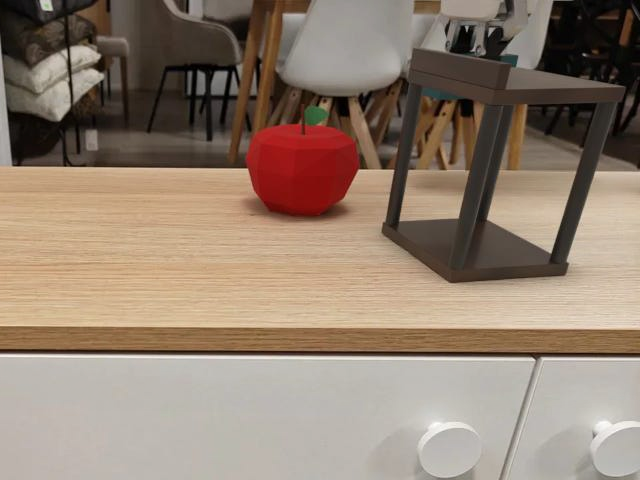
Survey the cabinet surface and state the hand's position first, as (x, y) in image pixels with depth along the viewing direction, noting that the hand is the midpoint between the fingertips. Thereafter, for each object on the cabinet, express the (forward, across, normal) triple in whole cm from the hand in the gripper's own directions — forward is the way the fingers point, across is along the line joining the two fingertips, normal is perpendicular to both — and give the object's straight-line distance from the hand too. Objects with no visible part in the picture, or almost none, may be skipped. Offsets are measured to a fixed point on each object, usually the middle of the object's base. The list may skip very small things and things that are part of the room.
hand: (465, 93), depth 71 cm
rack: (+10, -20, +10) cm, 24 cm away
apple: (+10, -5, +20) cm, 23 cm away
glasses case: (0, 0, 0) cm, 0 cm away
